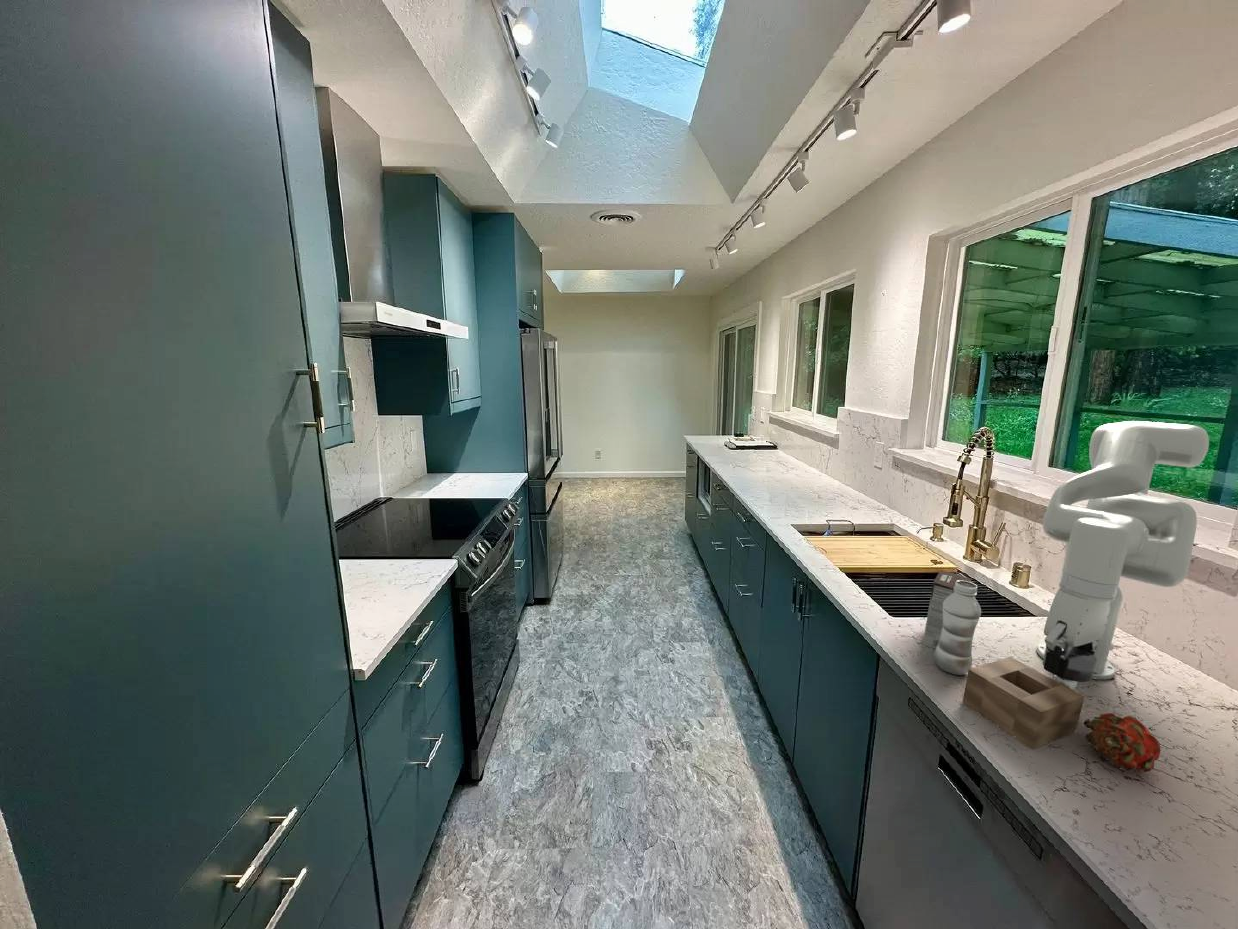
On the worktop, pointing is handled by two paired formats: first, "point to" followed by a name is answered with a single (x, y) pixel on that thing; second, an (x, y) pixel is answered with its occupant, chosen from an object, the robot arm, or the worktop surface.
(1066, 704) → the hitch block
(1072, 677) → the grey metal cylinder
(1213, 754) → the worktop surface
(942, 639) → the plastic bottle
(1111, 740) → the dragon fruit
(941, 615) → the coffee box
